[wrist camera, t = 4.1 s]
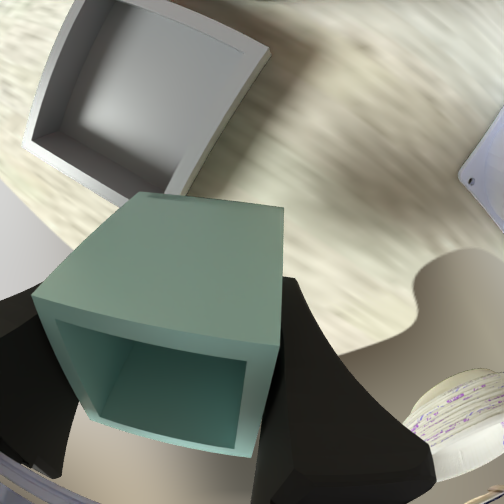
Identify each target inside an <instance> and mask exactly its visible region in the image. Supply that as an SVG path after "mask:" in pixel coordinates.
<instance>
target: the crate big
mask: <svg viewBox="0 0 504 504" xmlns="http://www.w3.org/2000/svg"><path fill="white" fill-rule="evenodd" d="M271 56H272V54H271V52H270V49H269V47H267V46H265V45H263V44H261V43H260V42H258V41H256V40H254V39H252V38H250V37H248V36H246V35H244V34H242V33H241V32H239V31H237V30H234V29H232V28H230V27H228V26H226V25H224V24H222V23H220V22H218V21H215V20H213V19H211V18H209V17H207V16H204V15H202V14H200V13H197V12H195V11H192V10H190V9H188V8H185V7H183V6H180V5H177V4H175V3H172V2H169V1H167V0H75V1H74V3H73V5H72V6H71V8H70V10H69V12H68V14H67V16H66V18H65V21H64V23H63V25H62V27H61V29H60V31H59V33H58V36H57V38H56V40H55V43H54V45H53V47H52V50H51V52H50V55H49V57H48V60H47V62H46V65H45V68H44V70H43V73H42V76H41V79H40V82H39V85H38V88H37V91H36V94H35V97H34V100H33V103H32V107H31V110H30V114H29V117H28V121H27V125H26V129H25V133H24V137H23V141H22V146H21V147H22V148H24V149H25V150H27V151H28V152H30V153H31V154H33V155H35V156H36V157H38V158H39V159H41V160H43V161H44V162H46V163H47V164H49V165H50V166H52V167H54V168H55V169H57V170H58V171H60V172H62V173H63V174H65V175H66V176H68V177H70V178H71V179H73V180H75V181H76V182H78V183H79V184H81V185H83V186H84V187H86V188H88V189H89V190H91V191H93V192H94V193H96V194H97V195H99V196H101V197H102V198H104V199H106V200H107V201H109V202H111V203H112V204H114V205H116V206H117V207H119V208H120V207H122V206H123V205H124V204H125V203H126V202H127V201H129V200H130V199H131V198H132V197H133V196H134V195H136V194H137V193H138V192H150V193H161V194H172V195H182V196H186V195H187V193H188V191H189V189H190V187H191V185H192V184H193V182H194V180H195V178H196V176H197V175H198V173H199V171H200V169H201V167H202V166H203V164H204V162H205V160H206V159H207V157H208V155H209V154H210V152H211V150H212V148H213V147H214V145H215V143H216V142H217V140H218V138H219V137H220V135H221V133H222V132H223V130H224V128H225V127H226V125H227V123H228V122H229V120H230V118H231V117H232V115H233V114H234V112H235V110H236V109H237V107H238V106H239V104H240V102H241V101H242V99H243V98H244V96H245V95H246V93H247V92H248V90H249V88H250V87H251V85H252V84H253V82H254V81H255V79H256V78H257V76H258V75H259V73H260V72H261V70H262V69H263V67H264V66H265V64H266V63H267V61H268V60H269V59H270V57H271Z"/></svg>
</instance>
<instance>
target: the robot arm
mask: <svg viewBox="0 0 504 504" xmlns="http://www.w3.org/2000/svg"><path fill="white" fill-rule="evenodd" d="M470 178H472V181H471V183H470V184H469V183H468V181H469V179H470ZM458 179H459V180H460V182H461V183H462V184H463V185H464V186H465V187H466V188H467V190H468V191H469V192H470V193H471V194H472V195H473V196H474V198H475V199H476V200H477V201H478V202H479V203H480V205H481V206H482V207H483V208H484V209H485V211H486V212H487V213H488V214H489V216H490V217H491V218H492V219H493V221H494V222H495V223H496V225H497V226H498V227H499V229H500V230H501V231H502V232H503V234H504V106H503V108H502V109H501V111H500V112H499V114H498V115H497V117H496V118H495V120H494V121H493V123H492V125H491V126H490V128H489V129H488V130H487V132H486V133H485V135H484V136H483V138H482V139H481V141H480V142H479V144H478V145H477V146H476V148H475V149H474V151H473V152H472V153H471V155H470V156H469V158H468V159H467V160H466V162H465V163H464V164H463V166H462V167H461V169H460V170H459V172H458ZM43 282H44V281H43ZM43 282H41V283H39V284H38V285H36V286H34V287H32V288H30V289H27V290H25V291H23V292H21V293H18V294H16V295H14V296H11V297H9V298H6V299H4V300H1V301H0V474H1V475H2V476H4V477H5V478H7V479H8V480H10V481H12V482H13V483H15V484H16V485H18V486H20V487H21V488H23V489H24V490H26V491H28V492H29V493H31V494H33V495H34V496H36V497H38V498H40V499H42V500H43V501H45V502H47V503H49V504H100V503H98V502H95V501H92V500H90V499H88V498H85V497H83V496H80V495H78V494H76V493H74V492H72V491H70V490H68V489H65V488H63V487H61V486H59V485H57V484H55V483H53V482H51V481H49V480H47V479H45V478H44V477H42V476H40V475H38V474H36V473H34V472H33V471H31V470H29V469H27V468H26V467H24V466H22V465H21V463H22V464H24V465H25V466H27V467H29V468H33V469H35V470H36V471H38V472H40V473H42V474H44V475H46V476H47V477H49V478H51V479H56V478H59V477H61V476H62V468H63V462H64V456H65V451H66V446H67V441H68V437H69V433H70V429H71V426H72V422H73V419H74V415H75V412H76V409H77V406H78V403H79V400H78V398H77V396H76V394H75V392H74V391H73V389H72V387H71V385H70V383H69V381H68V379H67V377H66V375H65V373H64V371H63V369H62V367H61V365H60V363H59V361H58V359H57V357H56V355H55V353H54V351H53V348H52V346H51V344H50V342H49V339H48V337H47V335H46V332H45V330H44V328H43V325H42V323H41V320H40V318H39V315H38V313H37V310H36V307H35V305H34V302H33V299H32V296H31V295H32V293H33V292H34V291H35V290H36V289H37V288H38V287H39V286H40V285H41V284H42V283H43ZM436 482H437V479H436V473H435V467H434V461H433V457H432V453H431V450H430V447H429V444H428V443H427V442H425V441H424V440H423V439H421V438H420V437H418V436H417V435H416V434H414V433H413V432H412V431H411V430H409V429H408V428H407V427H405V426H404V425H403V424H401V423H400V422H399V421H397V419H395V418H394V417H393V416H392V415H391V414H390V413H389V412H388V411H386V410H385V409H384V408H383V407H382V406H381V405H380V404H379V403H378V402H377V401H376V400H375V399H374V398H373V397H372V396H371V395H370V394H369V393H368V392H367V391H366V390H365V389H364V388H363V386H362V385H361V384H360V383H359V382H358V381H357V380H356V379H355V378H354V376H353V375H352V374H351V373H350V372H349V371H348V369H347V368H346V366H345V365H344V364H343V362H342V361H341V360H340V358H339V357H338V356H337V354H336V353H335V351H334V350H333V348H332V347H331V345H330V344H329V342H328V340H327V339H326V337H325V336H324V334H323V332H322V331H321V329H320V327H319V325H318V324H317V322H316V320H315V318H314V316H313V315H312V313H311V311H310V309H309V307H308V305H307V303H306V301H305V298H304V296H303V294H302V292H301V289H300V287H299V284H298V282H297V280H296V279H295V278H290V277H283V276H282V303H281V329H280V347H279V351H278V355H277V360H276V364H275V368H274V372H273V376H272V380H271V384H270V388H269V392H268V396H267V400H266V404H265V408H264V412H263V415H262V424H261V433H260V441H259V449H258V456H257V463H256V471H255V478H254V485H253V491H252V497H251V504H407V503H409V502H410V501H412V500H414V499H416V498H418V497H419V496H421V495H423V494H424V493H426V492H427V491H429V490H430V489H431V488H432V487H433V486H434V484H435V483H436ZM0 504H34V503H32V502H30V501H29V500H27V499H25V498H24V497H22V496H21V495H19V494H17V493H16V492H14V491H13V490H11V489H10V488H8V487H7V486H5V485H3V484H2V483H1V482H0Z"/></svg>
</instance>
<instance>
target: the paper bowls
mask: <svg viewBox="0 0 504 504" xmlns="http://www.w3.org/2000/svg"><path fill="white" fill-rule="evenodd" d="M402 424H403V425H404V426H405V427H407V428H408V429H409V430H411V431H412V432H413V433H414V434H416V435H417V436H418V437H420V438H421V439H423V440H424V441H425V442H427V443H428V444H429V447H430V450H431V453H432V457H433V461H434V467H435V473H436V479H437V482H439V481H443V480H447V479H451V478H454V477H457V476H460V475H462V474H465V473H467V472H470V471H472V470H474V469H477V468H479V467H481V466H483V465H485V464H486V463H488V462H490V461H492V460H494V459H495V458H497V457H498V456H500V455H501V454H503V453H504V372H500V373H495V372H494V371H492V370H489V369H482V368H480V369H472V370H467V371H464V372H461V373H458V374H456V375H453V376H451V377H449V378H447V379H445V380H444V381H442V382H440V383H439V384H437V385H436V386H434V387H433V388H432V389H430V390H429V391H428V392H426V393H425V394H424V395H423V396H422V397H421V398H420V399H419V400H418V402H417V403H416V404H415V406H414V407H413V409H412V411H411V414H410V416H408V417H407V419H406V420H405V421H404V422H403V423H402Z"/></svg>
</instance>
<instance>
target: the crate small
mask: <svg viewBox="0 0 504 504" xmlns="http://www.w3.org/2000/svg"><path fill="white" fill-rule="evenodd" d="M283 231H284V208H283V207H276V206H268V205H261V204H253V203H245V202H237V201H228V200H220V199H211V198H202V197H192V196H182V195H172V194H161V193H150V192H138V193H137V194H136V195H134V196H133V197H132V198H131V199H130V200H129V201H127V202H126V203H125V204H124V205H123V206H122V207H120V208H119V209H118V210H117V211H116V212H115V213H114V214H112V215H111V216H110V217H109V218H108V219H107V220H106V221H105V222H104V223H102V224H101V225H100V226H99V227H98V228H97V229H96V230H95V231H94V232H93V233H92V234H91V235H90V236H88V237H87V238H86V239H85V240H84V241H83V242H82V243H81V244H80V245H79V246H78V247H77V248H76V249H75V250H74V251H73V252H72V253H71V254H70V255H69V256H68V257H67V258H66V259H65V260H64V261H63V262H62V263H61V264H60V265H59V266H58V267H57V268H56V269H55V270H54V271H53V272H52V273H51V274H50V275H49V276H48V277H47V278H46V279H45V281H44V282H43V283H42V284H41V285H40V286H39V287H38V288H37V289H36V290H35V291H34V292H33V293H32V295H31V296H32V299H33V302H34V305H35V307H36V310H37V313H38V315H39V318H40V320H41V323H42V325H43V328H44V330H45V332H46V335H47V337H48V339H49V342H50V344H51V346H52V348H53V351H54V353H55V355H56V357H57V359H58V361H59V363H60V365H61V367H62V369H63V371H64V373H65V375H66V377H67V379H68V381H69V383H70V385H71V387H72V389H73V391H74V392H75V394H76V396H77V398H78V400H79V401H80V403H81V405H82V407H83V408H84V410H85V412H86V413H87V415H88V417H89V418H90V420H92V421H95V422H98V423H101V424H104V425H107V426H110V427H113V428H116V429H119V430H122V431H125V432H129V433H132V434H135V435H139V436H142V437H146V438H150V439H153V440H158V441H161V442H166V443H170V444H174V445H179V446H183V447H188V448H193V449H198V450H204V451H209V452H214V453H220V454H227V455H234V456H241V457H249V458H251V455H252V452H253V449H254V445H255V441H256V438H257V434H258V430H259V427H260V423H261V419H262V415H263V412H264V408H265V404H266V400H267V396H268V392H269V388H270V384H271V380H272V376H273V372H274V368H275V364H276V360H277V355H278V351H279V347H280V329H281V303H282V273H283Z"/></svg>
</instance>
